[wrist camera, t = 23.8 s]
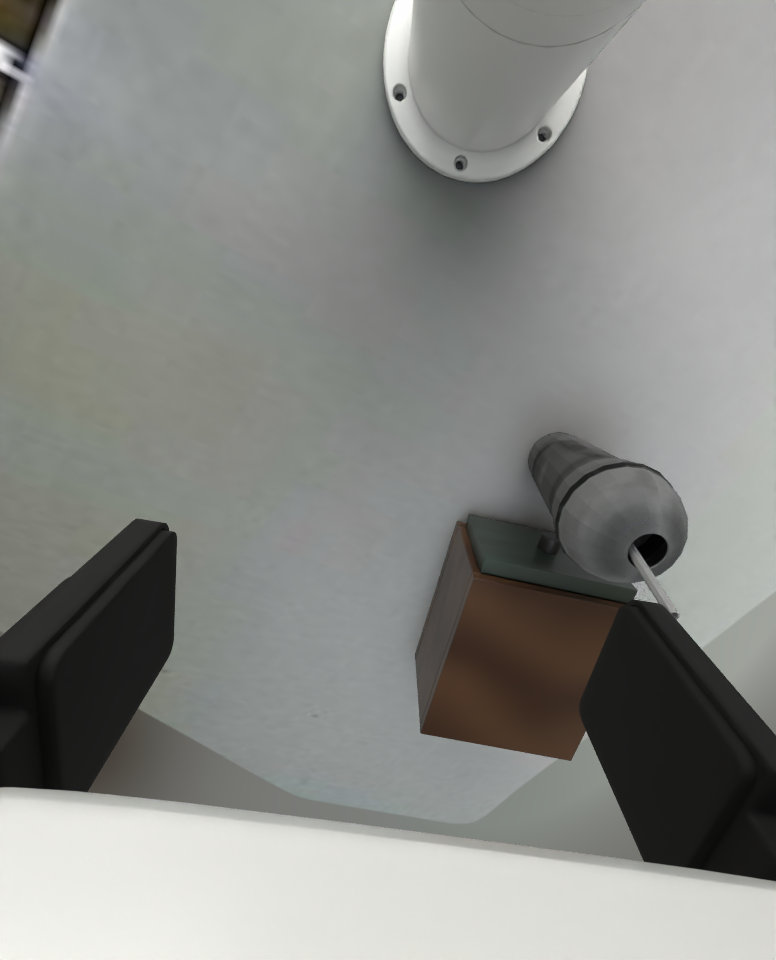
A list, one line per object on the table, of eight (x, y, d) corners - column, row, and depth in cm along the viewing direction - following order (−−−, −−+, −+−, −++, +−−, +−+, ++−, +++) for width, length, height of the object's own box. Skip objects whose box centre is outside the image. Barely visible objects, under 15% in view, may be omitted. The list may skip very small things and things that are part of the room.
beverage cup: (617, 466, 41) (811, 614, 22) (541, 516, 42) (661, 693, 24) (571, 397, 39) (742, 495, 20) (493, 451, 40) (584, 590, 22)
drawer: (473, 501, 41) (490, 543, 34) (603, 530, 42) (644, 576, 35) (427, 643, 46) (434, 704, 39) (544, 666, 47) (570, 729, 40)
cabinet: (457, 520, 42) (473, 577, 34) (595, 550, 43) (644, 613, 35) (414, 654, 47) (420, 733, 39) (539, 679, 48) (571, 761, 40)
